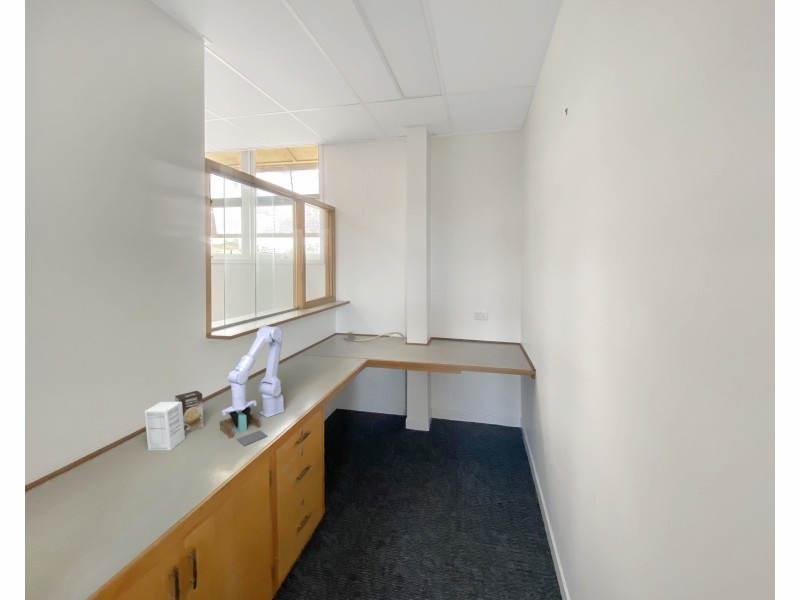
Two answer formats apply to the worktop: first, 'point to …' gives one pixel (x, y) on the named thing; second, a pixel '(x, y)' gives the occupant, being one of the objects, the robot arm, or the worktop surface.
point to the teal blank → (241, 422)
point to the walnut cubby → (229, 423)
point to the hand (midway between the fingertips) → (240, 425)
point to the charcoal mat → (252, 438)
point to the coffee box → (191, 410)
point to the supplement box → (164, 426)
